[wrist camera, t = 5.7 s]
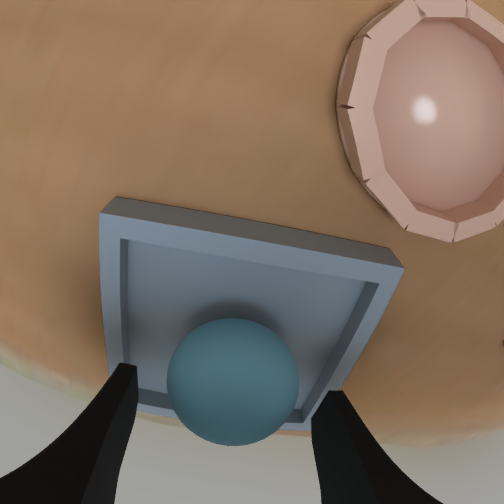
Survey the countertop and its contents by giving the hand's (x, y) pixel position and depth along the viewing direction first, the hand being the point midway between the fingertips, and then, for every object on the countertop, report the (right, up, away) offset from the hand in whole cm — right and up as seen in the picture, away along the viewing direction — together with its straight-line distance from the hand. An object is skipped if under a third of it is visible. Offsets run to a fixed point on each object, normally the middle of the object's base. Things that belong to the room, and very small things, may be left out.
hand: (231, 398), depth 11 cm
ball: (0, +2, +3) cm, 3 cm away
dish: (+8, +11, -1) cm, 13 cm away
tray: (0, +2, +3) cm, 4 cm away
